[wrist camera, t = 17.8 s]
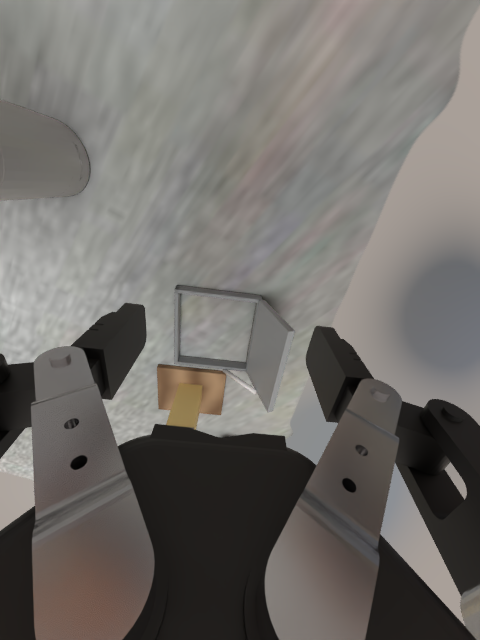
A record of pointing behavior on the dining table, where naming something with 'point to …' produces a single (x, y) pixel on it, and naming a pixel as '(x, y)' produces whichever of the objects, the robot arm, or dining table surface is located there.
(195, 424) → the block
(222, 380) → the board
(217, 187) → the dining table surface
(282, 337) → the case
